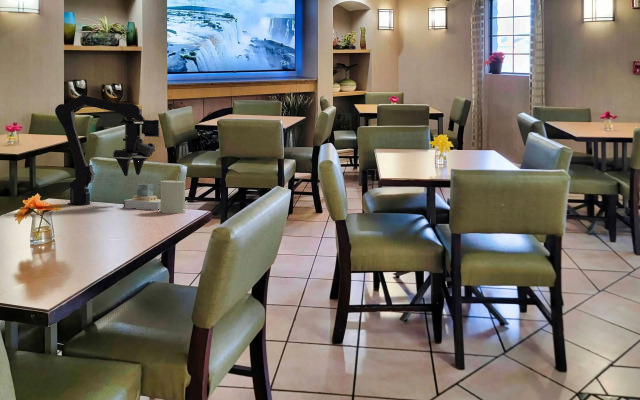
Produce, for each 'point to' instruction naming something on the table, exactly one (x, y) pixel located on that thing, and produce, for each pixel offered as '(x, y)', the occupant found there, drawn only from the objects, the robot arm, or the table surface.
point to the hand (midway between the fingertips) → (132, 175)
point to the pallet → (145, 192)
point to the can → (172, 197)
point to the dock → (142, 204)
